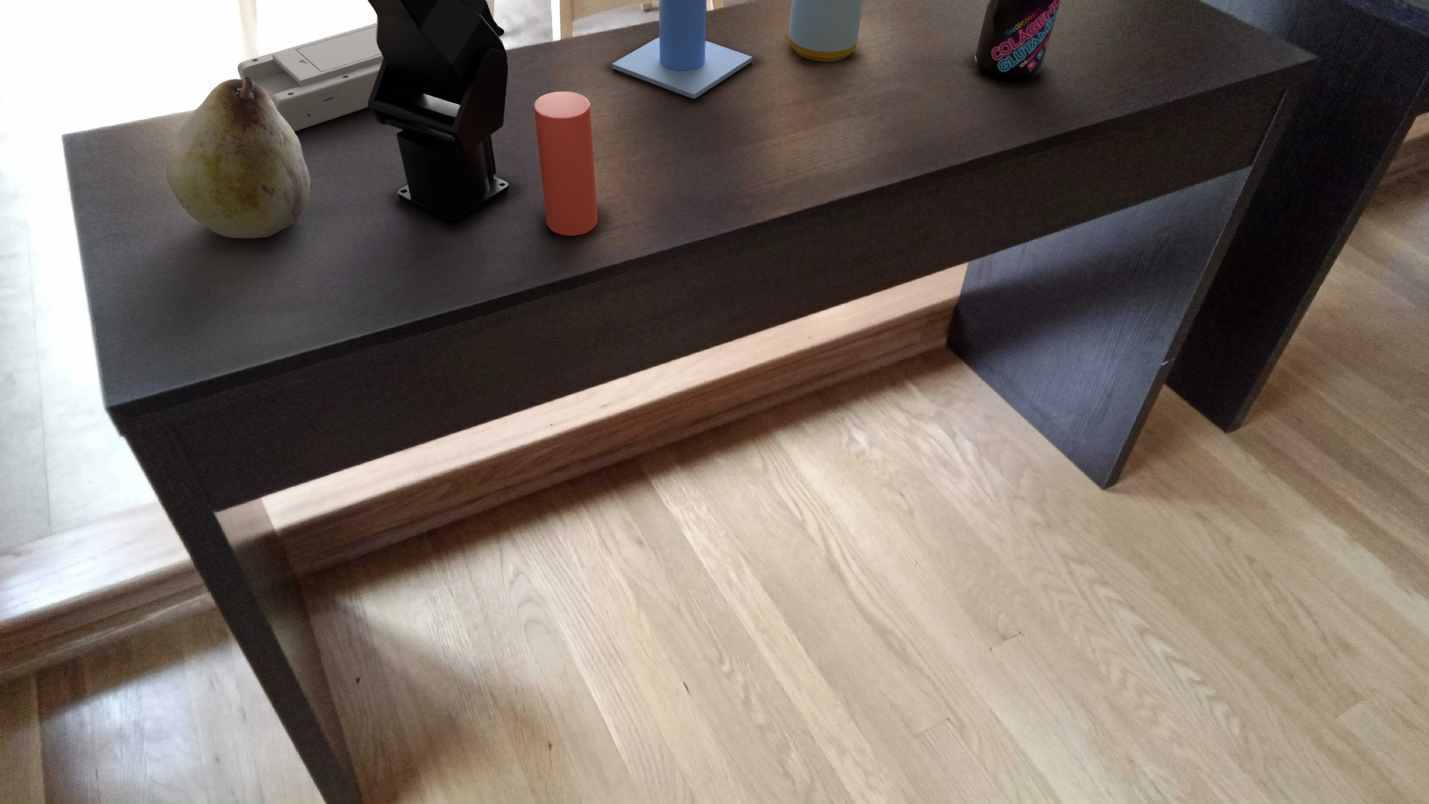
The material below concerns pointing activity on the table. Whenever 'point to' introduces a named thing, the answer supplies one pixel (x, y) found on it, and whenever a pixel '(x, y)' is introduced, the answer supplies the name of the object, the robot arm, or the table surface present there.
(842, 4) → the bottle
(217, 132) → the fruit
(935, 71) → the table surface
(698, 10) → the blue peg
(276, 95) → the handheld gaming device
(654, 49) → the blue mat
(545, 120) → the red peg
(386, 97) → the robot arm
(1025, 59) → the supplement container
